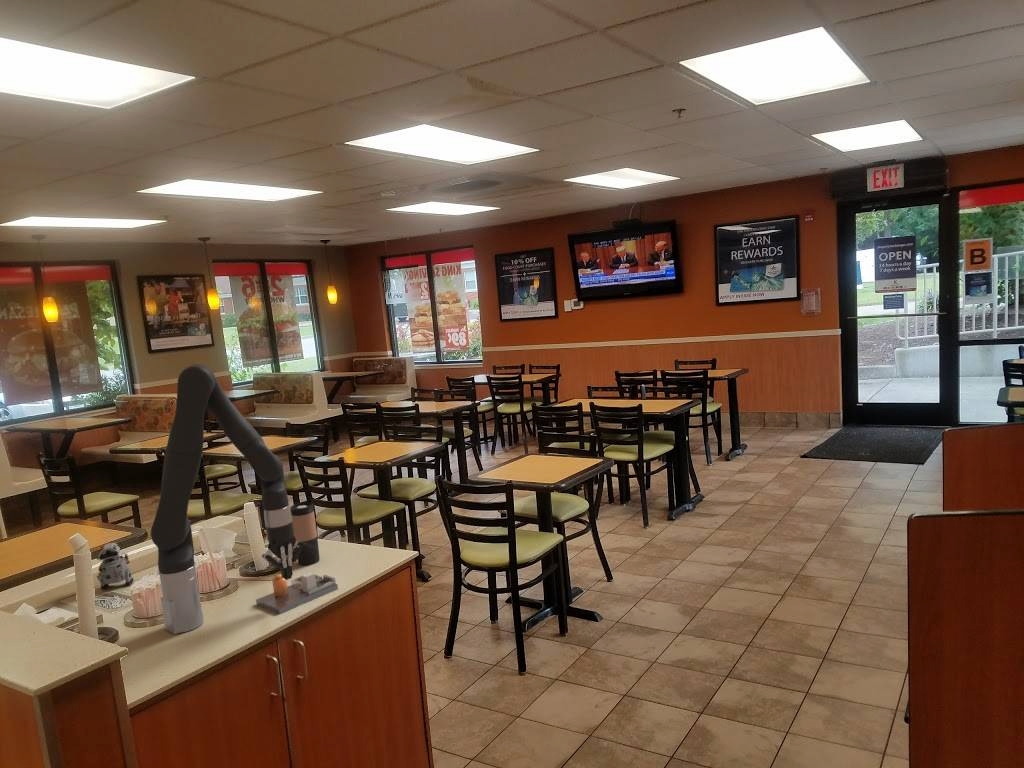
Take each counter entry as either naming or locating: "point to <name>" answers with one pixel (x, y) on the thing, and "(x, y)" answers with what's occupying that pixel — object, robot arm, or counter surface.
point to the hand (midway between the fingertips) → (287, 578)
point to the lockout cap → (279, 586)
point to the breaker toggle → (308, 581)
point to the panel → (297, 594)
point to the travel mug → (305, 532)
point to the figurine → (113, 566)
